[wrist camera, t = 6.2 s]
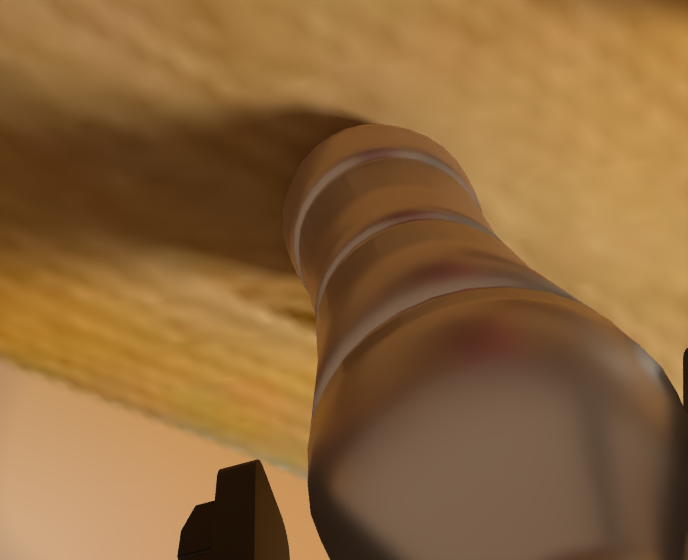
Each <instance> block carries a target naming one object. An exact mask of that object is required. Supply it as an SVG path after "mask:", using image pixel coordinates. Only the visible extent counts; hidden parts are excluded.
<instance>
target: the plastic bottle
mask: <svg viewBox="0 0 688 560" xmlns="http://www.w3.org/2000/svg"><path fill="white" fill-rule="evenodd" d="M282 226H283V236H284V242H285V245H286V248H287V251H288V254H289V257H290V260H291V262H292V264H293V267H294V269H295V271H296V273H297V275H298V277H299V278H300V280H301V282H302V284H303V285H304V287H305V289H306V290H307V292H308V294H309V297H310V300H311V303H312V306H313V309H314V312H315V317H316V335H317V352H318V365H317V374H316V383H315V392H314V401H313V410H312V419H311V428H310V436H309V443H308V491H309V501H310V510H311V516H312V518H313V521H314V524H315V526H316V529H317V532H318V534H319V537H320V540H321V542H322V544H323V546H324V548H325V550H326V552H327V554H328V556H329V558H330V560H688V416H687V414H686V412H685V410H684V407H683V405H682V403H681V401H680V398H679V396H678V394H677V392H676V390H675V389H674V387H673V385H672V384H671V382H670V380H669V379H668V377H667V375H666V374H665V372H664V370H663V369H662V367H661V366H660V365H659V364H658V363H657V362H656V361H655V360H654V359H653V358H652V357H651V356H650V355H649V354H648V353H647V352H646V351H645V350H644V349H643V348H642V347H641V346H640V345H639V344H637V343H636V342H635V341H634V340H632V339H631V338H630V337H629V336H627V335H626V334H625V333H624V332H623V331H621V330H620V329H619V328H618V327H617V326H616V325H614V324H613V323H612V322H611V321H610V320H609V319H607V318H605V317H604V316H602V315H600V314H598V313H597V312H596V311H594V310H593V309H591V308H590V307H588V306H587V305H585V304H584V303H582V302H581V301H579V300H578V299H576V298H575V297H573V296H572V295H570V294H569V293H567V292H566V291H564V290H563V289H561V288H560V287H558V286H557V285H555V284H554V283H552V282H551V281H549V280H548V279H546V278H545V277H543V276H542V275H540V274H539V273H537V272H536V271H534V270H533V269H531V268H530V267H529V266H528V265H527V264H526V263H524V262H523V261H522V260H521V259H520V258H519V257H518V256H517V255H516V254H515V253H514V252H513V251H512V250H511V249H510V248H508V247H507V246H506V245H505V244H504V243H503V242H502V241H501V240H500V239H499V238H498V237H497V236H496V235H495V233H494V231H493V230H492V228H491V227H490V225H489V223H488V222H487V220H486V219H485V217H484V215H483V213H482V209H481V206H480V203H479V201H478V198H477V196H476V193H475V191H474V189H473V187H472V185H471V183H470V181H469V179H468V177H467V175H466V174H465V172H464V171H463V169H462V168H461V166H460V165H459V163H458V162H457V160H456V159H455V158H454V157H453V156H452V155H451V154H450V153H449V152H448V151H447V150H446V149H445V148H444V147H442V146H441V145H439V144H438V143H436V142H435V141H433V140H431V139H430V138H428V137H427V136H424V135H422V134H419V133H417V132H414V131H411V130H409V129H405V128H401V127H397V126H390V125H384V124H365V125H359V126H355V127H351V128H347V129H344V130H342V131H339V132H337V133H335V134H333V135H331V136H329V137H328V138H326V139H325V140H324V141H322V142H321V143H320V144H318V145H317V146H316V147H314V148H313V150H312V151H311V152H310V153H309V154H308V155H307V156H306V157H305V159H304V160H303V161H302V163H301V164H300V166H299V168H298V170H297V171H296V173H295V175H294V177H293V179H292V181H291V183H290V186H289V189H288V192H287V195H286V198H285V201H284V207H283V217H282Z"/></svg>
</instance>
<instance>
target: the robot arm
mask: <svg viewBox="0 0 688 560" xmlns="http://www.w3.org/2000/svg"><path fill="white" fill-rule="evenodd" d="M683 407H684V410H685V412H686V414H687V416H688V348H687V349H686V350H685V352H684V356H683ZM177 557H178V560H290V558H289V557H290V556H289V546H288V540H287V535H286V530H285V526H284V523H283V519H282V516H281V514H280V511H279V508H278V506H277V503H276V500H275V498H274V495H273V492H272V490H271V487H270V484H269V482H268V479H267V476H266V474H265V471H264V468H263V466H262V464H261V462H260V461H259V460H258V459H257V460H254V461H250V462H246V463H242V464H238V465H235V466H231V467H227V468H224V469H220V470H219V471H218V474H217V483H216V494H215V501H211V502H208V503H204V504H200V505H196V506H195V508H194V510H193V511H192V513H191V515H190V516H189V518H188V520H187V522H186V523H185V525H184V527H183V528H182V530H181V535H180V542H179V549H178V556H177Z"/></svg>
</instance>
